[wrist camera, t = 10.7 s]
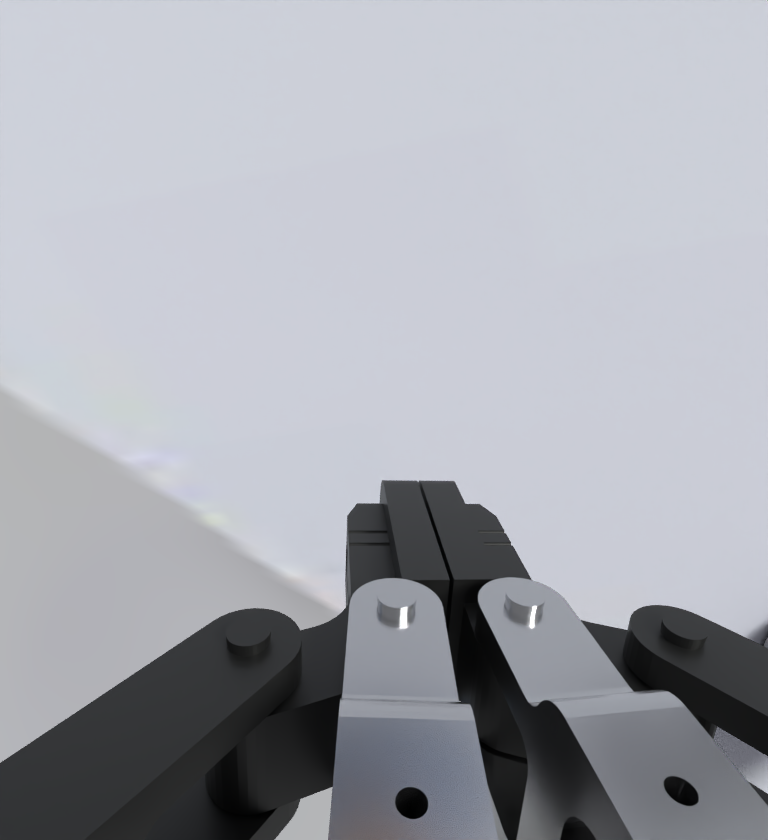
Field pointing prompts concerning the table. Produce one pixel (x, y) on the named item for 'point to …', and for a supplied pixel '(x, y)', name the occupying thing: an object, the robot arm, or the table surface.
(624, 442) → the table surface
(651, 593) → the table surface
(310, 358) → the table surface
